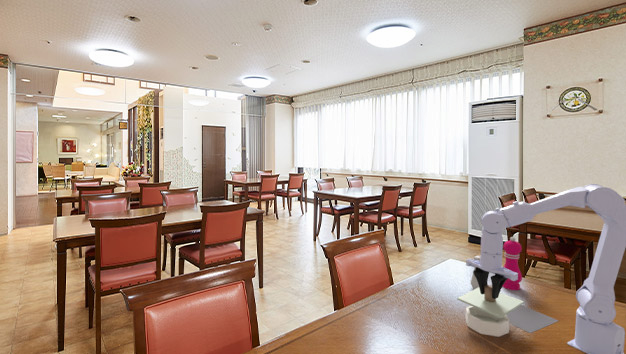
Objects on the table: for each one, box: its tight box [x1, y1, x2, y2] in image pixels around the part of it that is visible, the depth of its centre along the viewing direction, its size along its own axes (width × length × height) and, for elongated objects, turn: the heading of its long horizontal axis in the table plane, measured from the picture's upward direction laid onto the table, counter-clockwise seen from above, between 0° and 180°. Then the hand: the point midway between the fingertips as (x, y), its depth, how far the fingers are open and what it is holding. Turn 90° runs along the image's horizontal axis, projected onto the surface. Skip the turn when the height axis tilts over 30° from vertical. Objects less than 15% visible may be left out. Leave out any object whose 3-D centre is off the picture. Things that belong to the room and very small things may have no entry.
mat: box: [506, 304, 559, 334], centre depth 104 cm, size 15×15×1 cm
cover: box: [457, 284, 525, 318], centre depth 98 cm, size 13×13×5 cm
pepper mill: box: [502, 236, 523, 291], centre depth 125 cm, size 7×7×20 cm
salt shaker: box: [470, 255, 489, 290], centre depth 123 cm, size 6×6×13 cm
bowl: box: [464, 305, 510, 337], centre depth 98 cm, size 11×11×4 cm
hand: (489, 295), depth 98 cm, fingers closed on cover, 3 cm apart
